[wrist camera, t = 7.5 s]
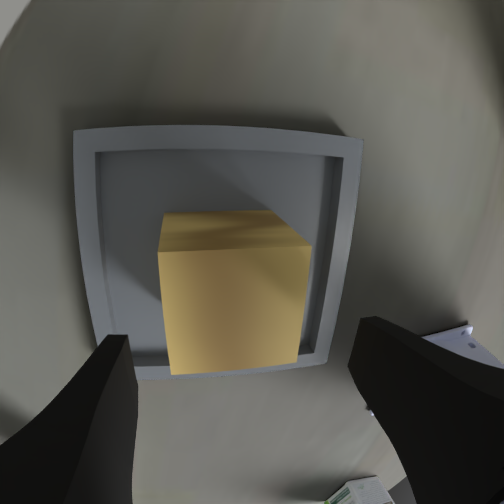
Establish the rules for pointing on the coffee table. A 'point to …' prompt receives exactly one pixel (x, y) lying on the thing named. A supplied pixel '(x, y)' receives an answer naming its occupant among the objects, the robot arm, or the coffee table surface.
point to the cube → (231, 290)
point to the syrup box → (361, 493)
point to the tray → (207, 199)
